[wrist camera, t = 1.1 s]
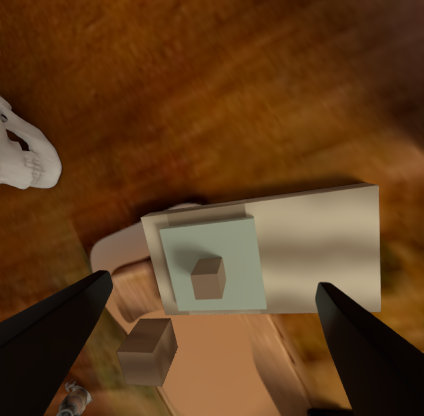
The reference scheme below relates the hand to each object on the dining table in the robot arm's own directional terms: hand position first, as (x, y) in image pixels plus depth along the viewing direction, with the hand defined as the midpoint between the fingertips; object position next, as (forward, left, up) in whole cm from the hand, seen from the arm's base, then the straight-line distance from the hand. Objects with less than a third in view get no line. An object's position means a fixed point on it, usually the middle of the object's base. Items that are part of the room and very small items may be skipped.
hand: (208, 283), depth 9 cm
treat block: (-16, +13, -14) cm, 24 cm away
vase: (-26, +28, -14) cm, 40 cm away
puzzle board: (-5, -1, -13) cm, 14 cm away
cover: (-5, +3, -11) cm, 13 cm away
